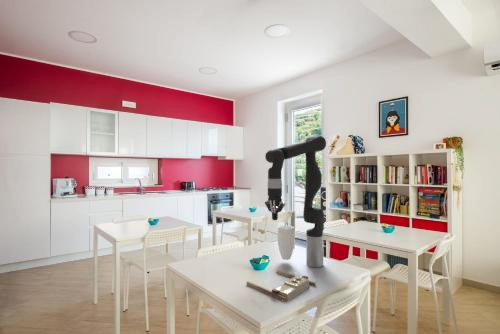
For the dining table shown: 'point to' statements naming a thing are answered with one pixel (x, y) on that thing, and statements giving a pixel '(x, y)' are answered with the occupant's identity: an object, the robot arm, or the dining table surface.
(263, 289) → the brown flat piece
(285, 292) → the electrical outlet
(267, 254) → the dining table surface
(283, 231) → the cup
